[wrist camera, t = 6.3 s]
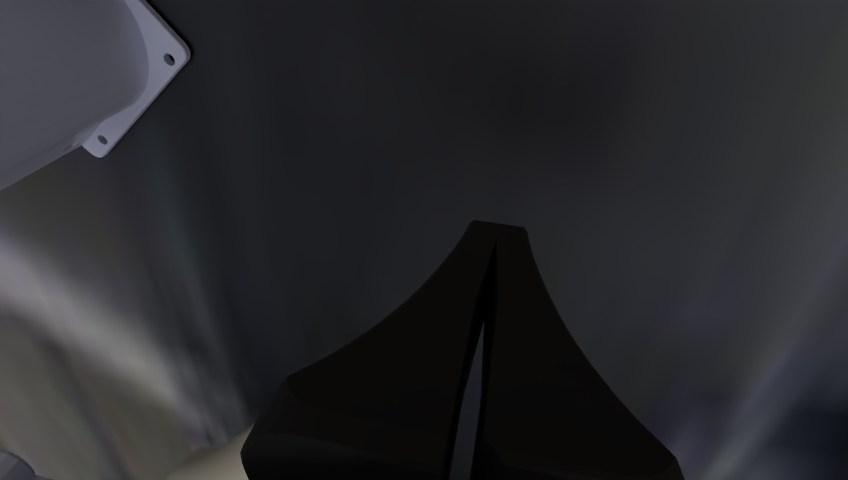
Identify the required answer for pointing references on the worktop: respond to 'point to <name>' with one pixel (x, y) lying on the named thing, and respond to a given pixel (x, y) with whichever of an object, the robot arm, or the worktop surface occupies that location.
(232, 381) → the worktop surface
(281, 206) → the worktop surface
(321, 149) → the worktop surface
